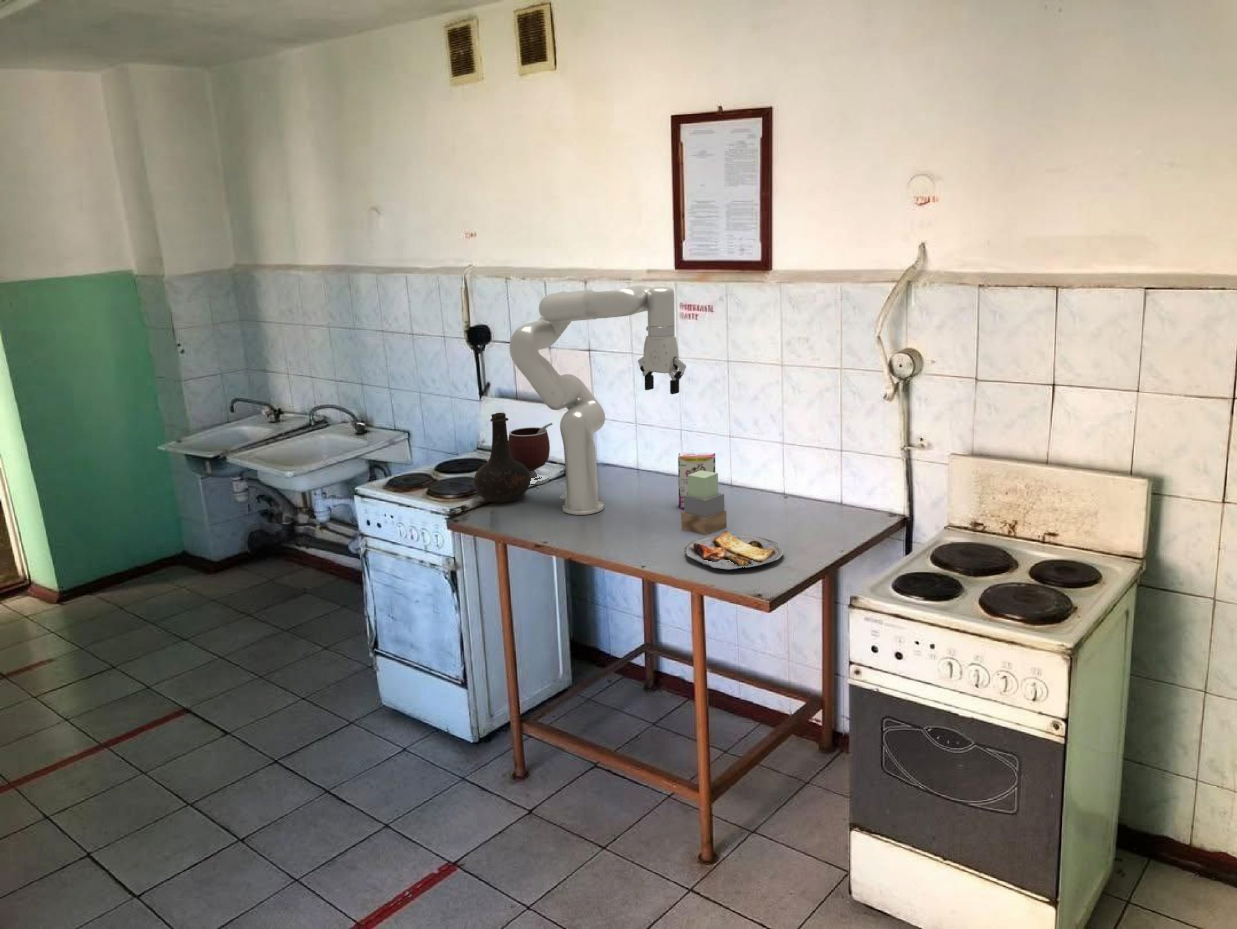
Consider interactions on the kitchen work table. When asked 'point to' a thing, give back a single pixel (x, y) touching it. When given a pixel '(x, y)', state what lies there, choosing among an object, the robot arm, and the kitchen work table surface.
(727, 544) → the food plate
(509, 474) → the glass bottle
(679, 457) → the candy bar box
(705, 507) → the gray middle block
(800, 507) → the kitchen work table surface
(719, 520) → the walnut base block
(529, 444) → the mate gourd
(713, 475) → the green cube
